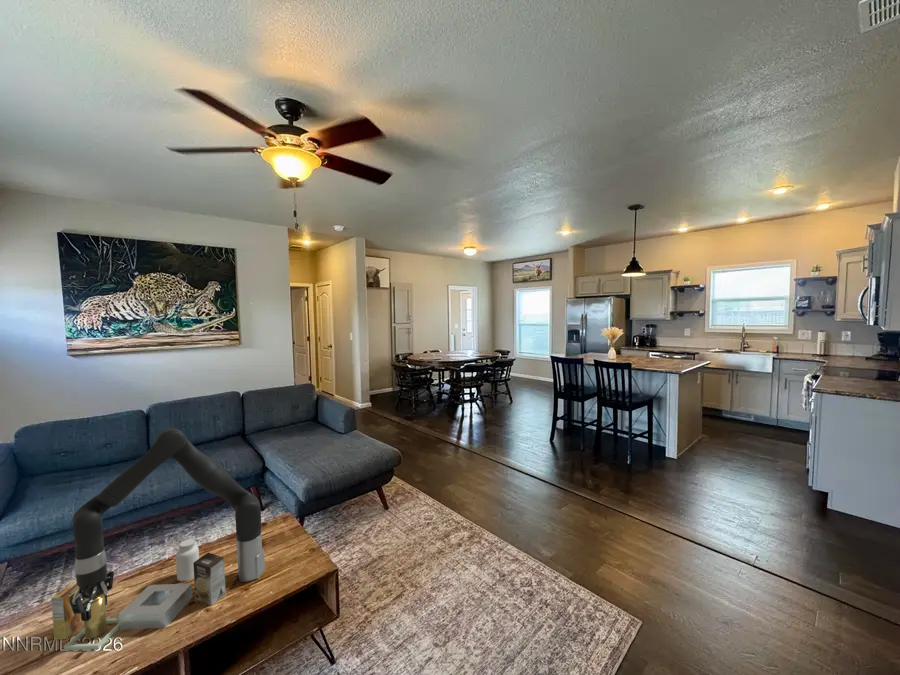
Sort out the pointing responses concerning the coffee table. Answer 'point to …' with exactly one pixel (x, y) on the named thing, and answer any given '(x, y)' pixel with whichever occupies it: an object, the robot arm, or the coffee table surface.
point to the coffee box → (209, 578)
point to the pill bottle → (186, 559)
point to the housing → (155, 606)
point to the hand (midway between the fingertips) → (95, 612)
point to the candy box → (65, 612)
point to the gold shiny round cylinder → (96, 617)
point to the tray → (91, 646)
